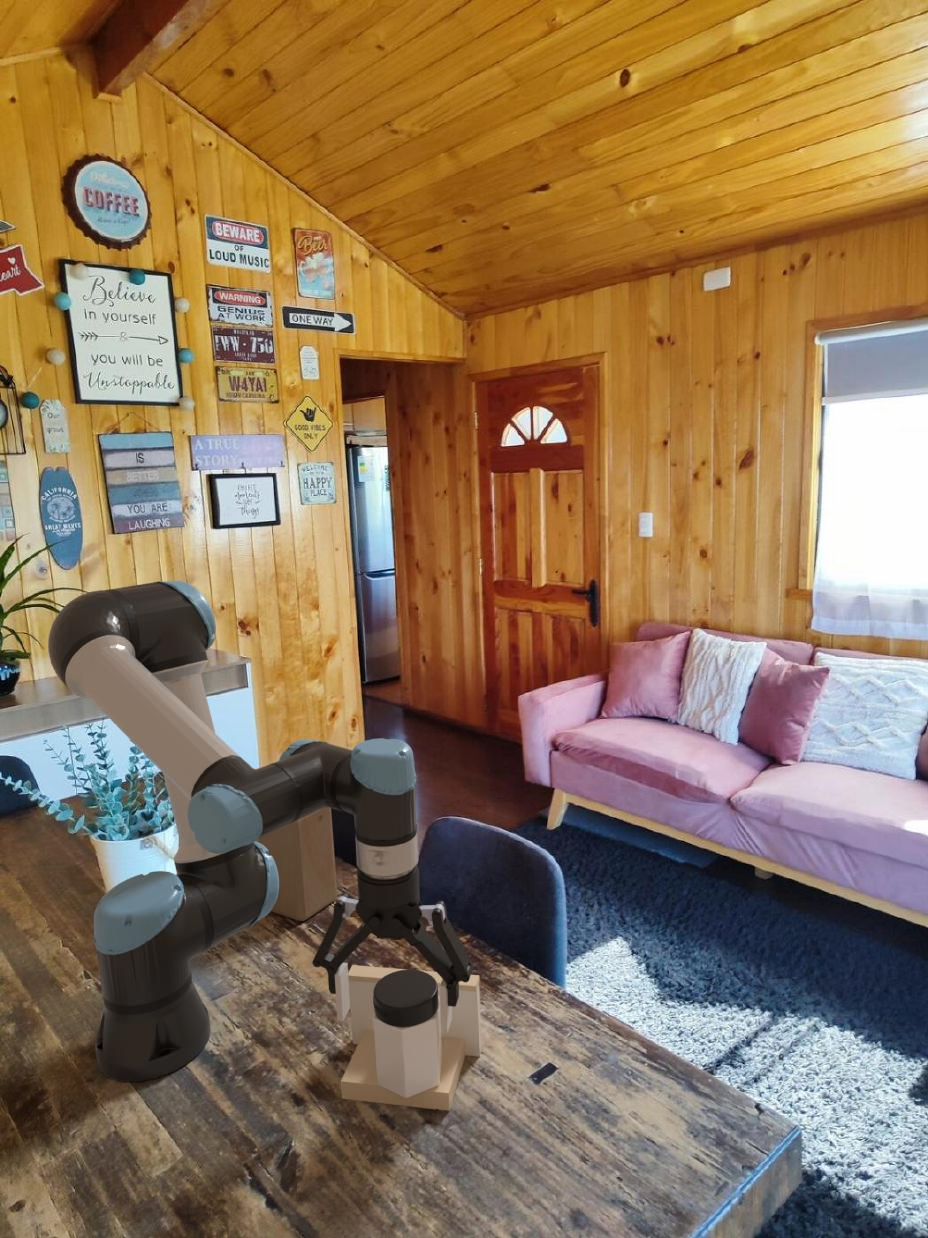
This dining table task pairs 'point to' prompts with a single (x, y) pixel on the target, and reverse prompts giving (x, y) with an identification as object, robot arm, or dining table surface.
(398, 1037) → the jar
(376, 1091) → the cleat board
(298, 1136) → the dining table surface
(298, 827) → the wooden block
